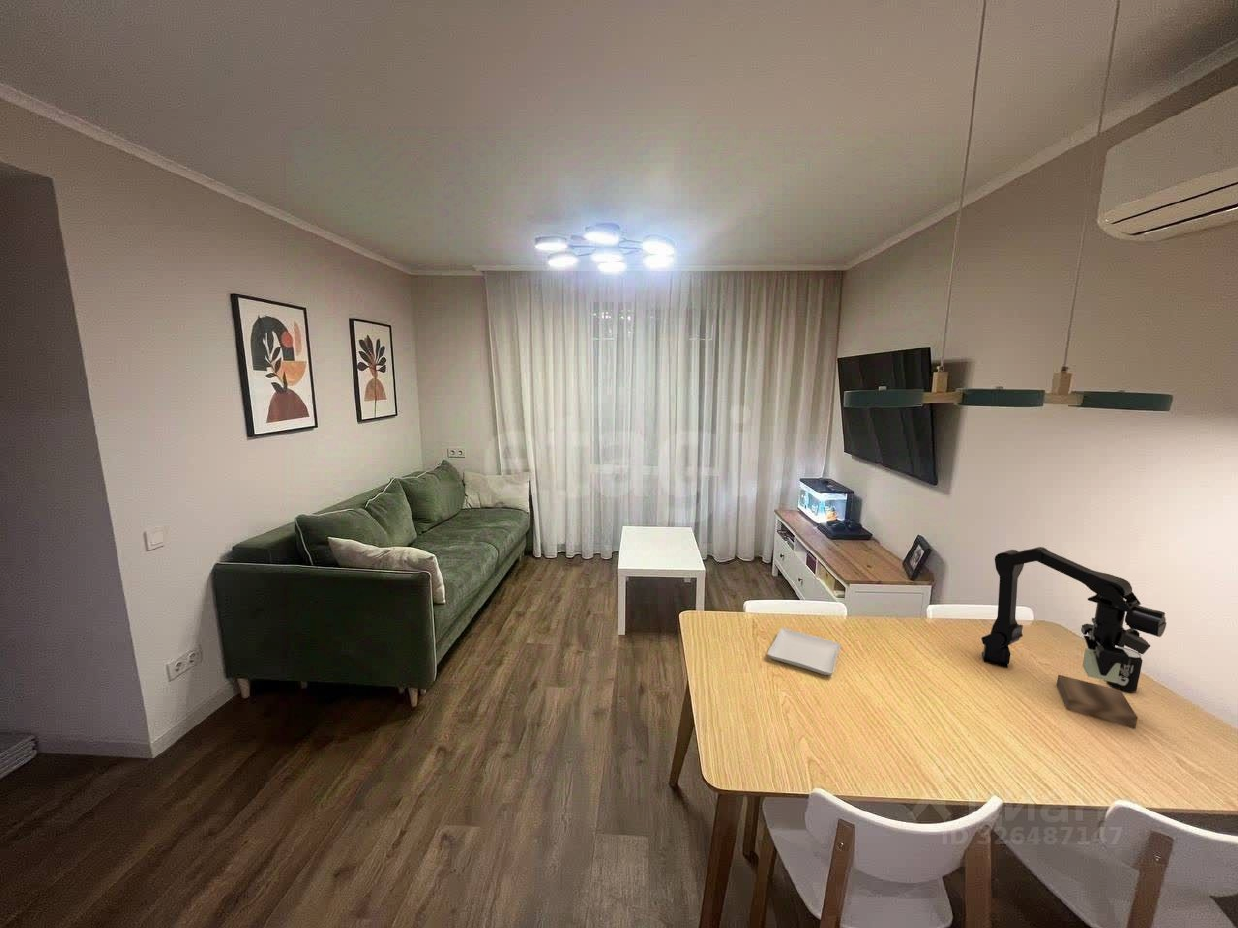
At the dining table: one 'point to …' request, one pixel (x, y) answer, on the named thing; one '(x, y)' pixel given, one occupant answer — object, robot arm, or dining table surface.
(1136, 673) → the beverage can
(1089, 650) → the sage cube
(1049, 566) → the robot arm
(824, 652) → the salad plate
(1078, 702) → the walnut box
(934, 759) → the dining table surface
